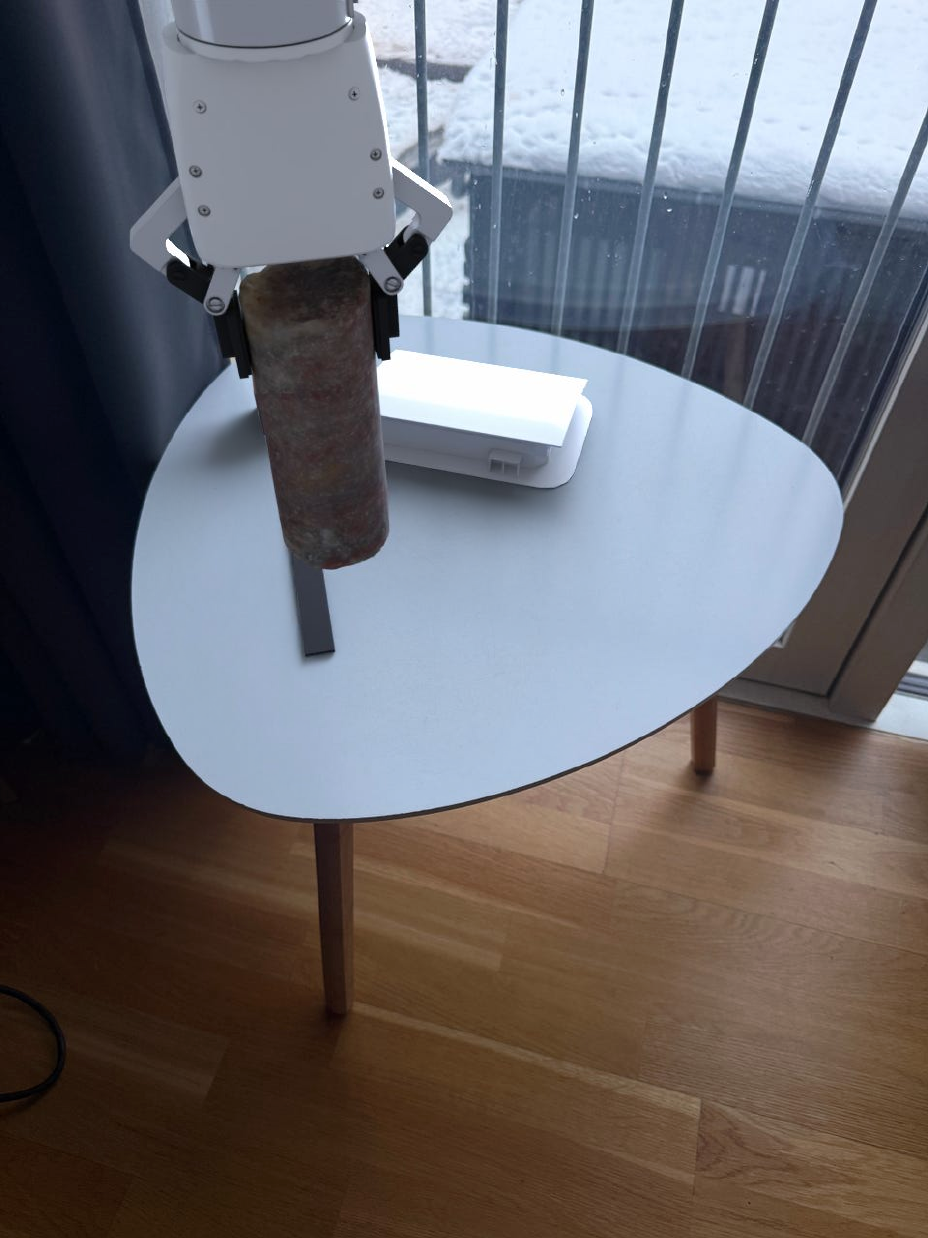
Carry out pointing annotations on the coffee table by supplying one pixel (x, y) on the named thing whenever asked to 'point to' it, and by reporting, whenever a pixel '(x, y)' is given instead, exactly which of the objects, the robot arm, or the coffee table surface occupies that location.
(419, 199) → the robot arm
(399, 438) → the white flat lidded device
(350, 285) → the brown weathered cylinder
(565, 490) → the coffee table surface
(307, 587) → the strip
